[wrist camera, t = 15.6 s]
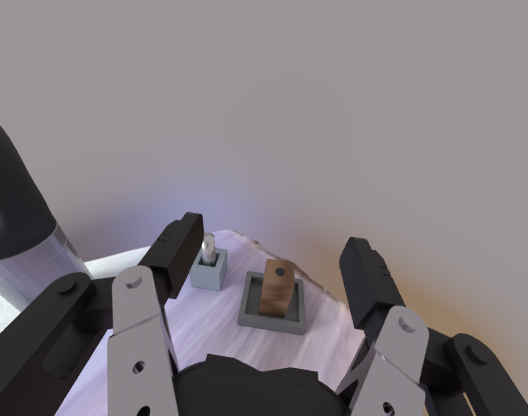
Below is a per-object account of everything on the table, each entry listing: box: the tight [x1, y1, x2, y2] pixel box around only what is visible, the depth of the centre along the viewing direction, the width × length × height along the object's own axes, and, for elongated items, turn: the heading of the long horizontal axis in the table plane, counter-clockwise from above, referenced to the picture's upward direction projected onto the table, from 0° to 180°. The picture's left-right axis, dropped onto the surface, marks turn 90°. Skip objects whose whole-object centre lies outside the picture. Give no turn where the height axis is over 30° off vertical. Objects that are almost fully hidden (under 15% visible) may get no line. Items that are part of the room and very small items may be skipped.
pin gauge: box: [201, 233, 216, 267], centre depth 41 cm, size 3×3×12 cm
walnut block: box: [259, 259, 294, 317], centre depth 38 cm, size 5×5×10 cm
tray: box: [238, 271, 306, 335], centre depth 41 cm, size 12×10×2 cm
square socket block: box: [189, 248, 227, 291], centre depth 43 cm, size 6×6×6 cm
